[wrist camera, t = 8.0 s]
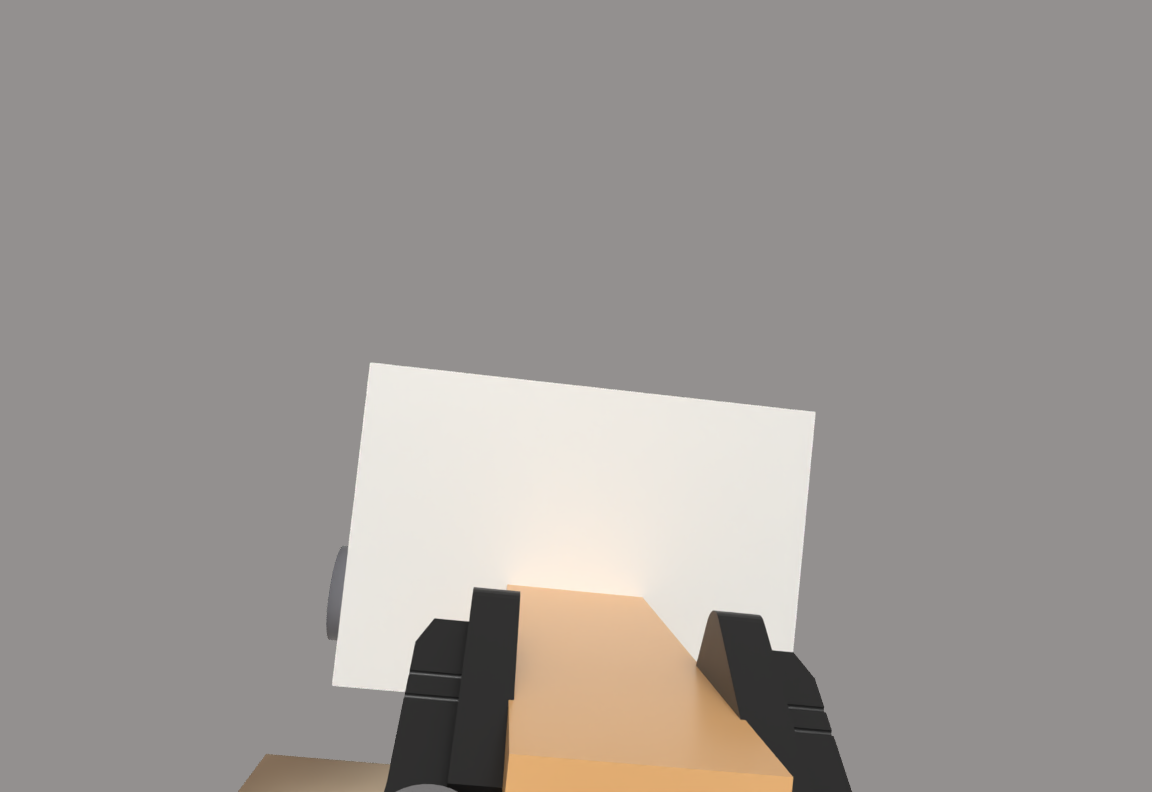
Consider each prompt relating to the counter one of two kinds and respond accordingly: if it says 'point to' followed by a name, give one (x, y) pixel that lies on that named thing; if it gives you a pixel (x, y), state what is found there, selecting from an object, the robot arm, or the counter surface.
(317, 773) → the dock pedestal
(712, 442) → the white box with knobs
